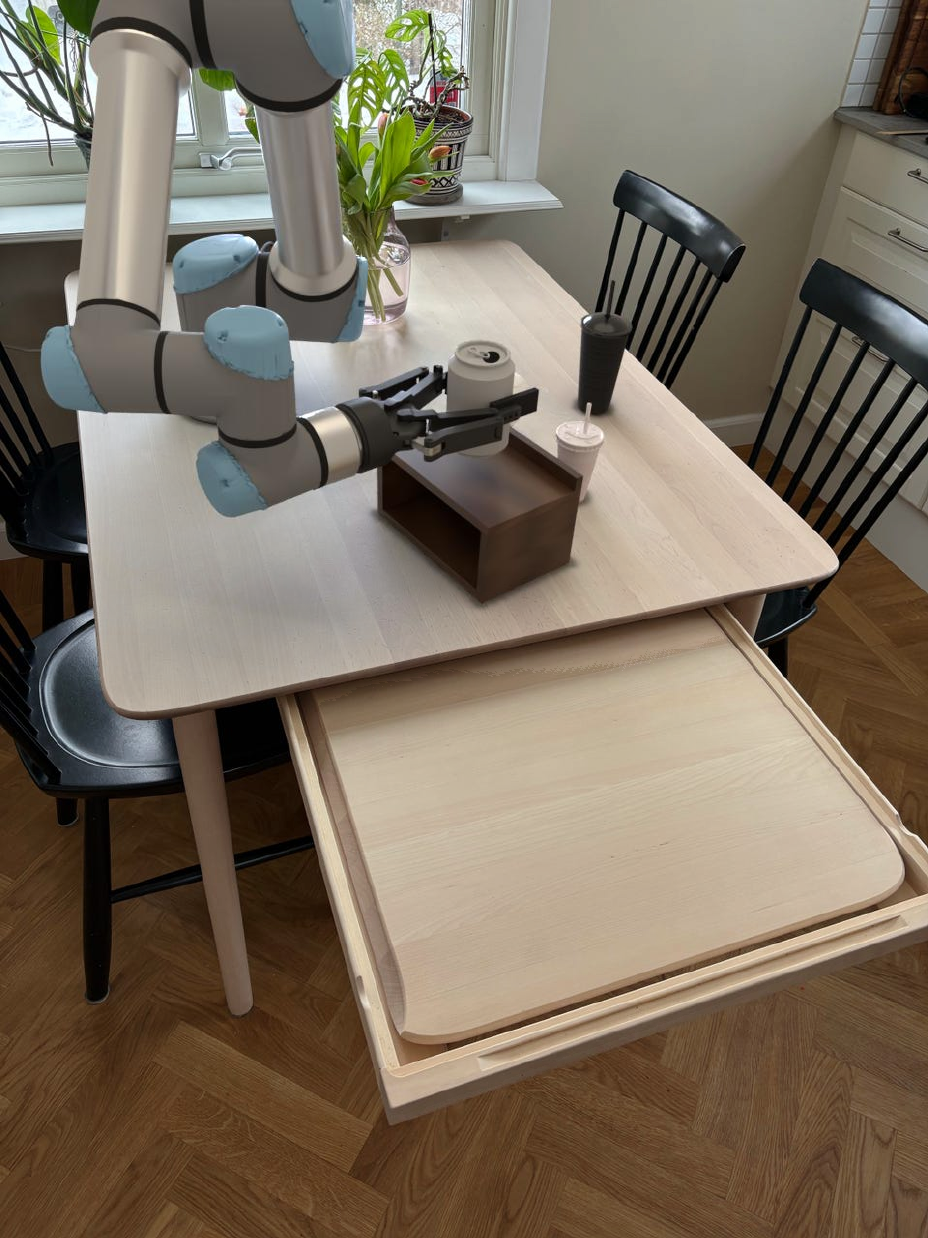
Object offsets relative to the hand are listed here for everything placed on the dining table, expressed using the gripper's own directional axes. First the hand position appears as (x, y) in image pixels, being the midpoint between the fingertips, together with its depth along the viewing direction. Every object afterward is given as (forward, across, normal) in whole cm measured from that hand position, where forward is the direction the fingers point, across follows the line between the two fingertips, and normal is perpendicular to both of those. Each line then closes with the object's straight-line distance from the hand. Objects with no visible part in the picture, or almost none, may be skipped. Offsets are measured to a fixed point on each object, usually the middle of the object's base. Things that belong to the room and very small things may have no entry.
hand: (512, 384), depth 111 cm
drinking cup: (+32, -16, -20) cm, 41 cm away
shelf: (-5, 0, -20) cm, 21 cm away
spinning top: (+13, -16, -20) cm, 29 cm away
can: (-5, 0, -7) cm, 8 cm away
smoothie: (+13, 0, -20) cm, 24 cm away
